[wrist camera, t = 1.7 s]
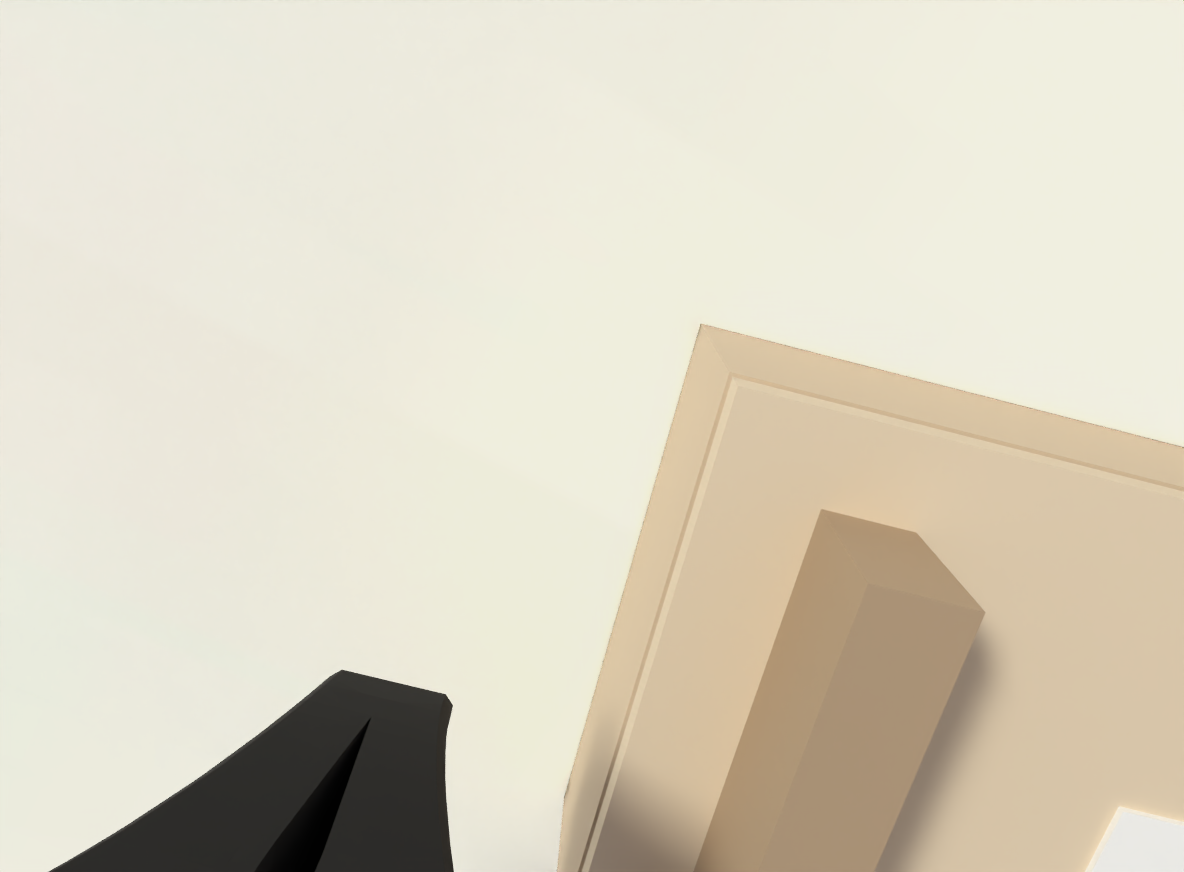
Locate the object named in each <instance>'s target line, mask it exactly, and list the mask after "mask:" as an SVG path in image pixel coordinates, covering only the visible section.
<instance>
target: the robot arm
mask: <svg viewBox="0 0 1184 872" xmlns="http://www.w3.org/2000/svg"><path fill="white" fill-rule="evenodd" d="M452 707H453V705H452V703H451V702H450V700H449V699H448V697H447V696H446V694H442V693H437V692H433V691H429V690H425V689H421V688H416V687H412V686H408V685H404V684H400V683H395V682H391V681H387V680H383V679H379V678H374V677H370V676H366V675H362V674H358V673H353V672H349V671H345V670H341V671H339V672H337V673H335V674H333V675H332V676H330V677H329V678H328V679H327V680H325V681H324V682H323V683H322V684H321V685H319V686H318V687H317V688H316V689H315V690H313V691H312V692H311V693H310V694H309V695H307V696H306V697H305V698H304V699H303V700H301V701H300V702H299V703H298V704H296V705H295V706H294V707H293V708H292V709H290V710H289V711H288V712H287V713H285V714H284V715H283V716H281V717H280V718H279V719H278V720H276V721H275V722H274V723H273V724H271V725H270V726H269V727H267V728H266V729H265V730H264V731H262V732H261V733H260V734H258V735H257V736H256V737H254V738H253V739H252V740H250V741H249V742H247V743H246V744H245V745H243V746H242V747H241V748H239V749H238V750H237V751H235V752H234V753H232V754H231V755H230V756H228V757H227V758H226V759H224V760H223V761H222V762H220V763H219V764H217V765H216V766H215V767H213V768H212V769H211V770H209V771H208V772H206V773H205V774H204V775H202V776H201V777H199V778H198V779H196V780H195V781H194V782H192V783H191V784H189V785H188V786H186V787H185V788H183V789H182V790H180V791H178V792H177V793H175V794H174V795H172V796H171V797H169V798H168V799H166V800H165V801H163V802H162V803H160V804H159V805H157V806H156V807H154V808H153V809H151V810H150V811H148V812H147V813H145V814H143V815H142V816H140V817H139V818H137V819H136V820H134V821H133V822H131V823H130V824H128V825H127V826H125V827H124V828H122V829H120V830H119V831H117V832H115V833H114V834H112V835H111V836H109V837H107V838H106V839H104V840H102V841H101V842H99V843H97V844H96V845H94V846H92V847H91V848H89V849H87V850H86V851H84V852H82V853H80V854H79V855H77V856H75V857H74V858H72V859H70V860H68V861H67V862H65V863H63V864H62V865H60V866H58V867H56V868H54V869H53V870H51V871H49V872H454V870H453V863H452V855H451V847H450V838H449V826H448V815H447V803H446V786H445V749H446V735H447V728H448V724H449V720H450V716H451V711H452Z"/></svg>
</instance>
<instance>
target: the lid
mask: <svg viewBox="0 0 1184 872" xmlns="http://www.w3.org/2000/svg"><path fill="white" fill-rule="evenodd" d="M582 872H1184V491H1180V490H1176V489H1172V488H1168V487H1164V486H1160V485H1156V484H1152V483H1148V482H1144V481H1140V480H1137V479H1133V478H1129V477H1125V476H1121V475H1117V474H1113V473H1109V472H1105V471H1101V470H1097V469H1093V468H1089V467H1085V466H1081V465H1078V464H1074V463H1070V462H1066V461H1062V460H1058V459H1054V458H1050V457H1046V456H1042V455H1038V454H1034V453H1030V452H1026V451H1022V450H1018V449H1015V448H1011V447H1007V446H1003V445H999V444H995V443H991V442H987V441H983V440H979V439H975V438H971V437H967V436H963V435H959V434H956V433H952V432H948V431H944V430H940V429H936V428H932V427H928V426H924V425H920V424H916V423H912V422H908V421H904V420H900V419H897V418H893V417H889V416H885V415H881V414H877V413H873V412H869V411H865V410H861V409H857V408H853V407H849V406H845V405H841V404H837V403H834V402H830V401H826V400H822V399H818V398H814V397H810V396H806V395H802V394H798V393H794V392H790V391H786V390H782V389H778V388H775V387H771V386H767V385H763V384H759V383H755V382H751V381H747V380H743V379H739V378H735V377H732V380H731V384H730V387H729V390H728V393H727V397H726V400H725V403H724V407H723V410H722V413H721V416H720V420H719V423H718V426H717V430H716V433H715V436H714V439H713V443H712V446H711V449H710V452H709V456H708V459H707V462H706V466H705V469H704V472H703V475H702V479H701V482H700V485H699V489H698V492H697V495H696V498H695V502H694V505H693V508H692V512H691V515H690V518H689V521H688V525H687V528H686V531H685V534H684V538H683V541H682V544H681V548H680V551H679V554H678V557H677V561H676V564H675V567H674V571H673V574H672V577H671V580H670V584H669V587H668V590H667V594H666V597H665V600H664V603H663V607H662V610H661V613H660V617H659V620H658V623H657V626H656V630H655V633H654V636H653V639H652V643H651V646H650V649H649V653H648V656H647V659H646V662H645V666H644V669H643V672H642V676H641V679H640V682H639V685H638V689H637V692H636V695H635V699H634V702H633V705H632V708H631V712H630V715H629V718H628V721H627V725H626V728H625V731H624V735H623V738H622V741H621V744H620V748H619V751H618V754H617V758H616V761H615V764H614V767H613V771H612V774H611V777H610V781H609V784H608V787H607V790H606V794H605V797H604V800H603V804H602V807H601V810H600V813H599V817H598V820H597V823H596V826H595V830H594V833H593V836H592V840H591V843H590V846H589V849H588V853H587V856H586V859H585V863H584V866H583V869H582Z"/></svg>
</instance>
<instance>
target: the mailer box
mask: <svg viewBox="0 0 1184 872" xmlns="http://www.w3.org/2000/svg"><path fill="white" fill-rule="evenodd" d="M732 377H735V378H739V379H743V380H747V381H751V382H755V383H759V384H763V385H767V386H771V387H775V388H778V389H782V390H786V391H790V392H794V393H798V394H802V395H806V396H810V397H814V398H818V399H822V400H826V401H830V402H834V403H837V404H841V405H845V406H849V407H853V408H857V409H861V410H865V411H869V412H873V413H877V414H881V415H885V416H889V417H893V418H897V419H900V420H904V421H908V422H912V423H916V424H920V425H924V426H928V427H932V428H936V429H940V430H944V431H948V432H952V433H956V434H959V435H963V436H967V437H971V438H975V439H979V440H983V441H987V442H991V443H995V444H999V445H1003V446H1007V447H1011V448H1015V449H1018V450H1022V451H1026V452H1030V453H1034V454H1038V455H1042V456H1046V457H1050V458H1054V459H1058V460H1062V461H1066V462H1070V463H1074V464H1078V465H1081V466H1085V467H1089V468H1093V469H1097V470H1101V471H1105V472H1109V473H1113V474H1117V475H1121V476H1125V477H1129V478H1133V479H1137V480H1140V481H1144V482H1148V483H1152V484H1156V485H1160V486H1164V487H1168V488H1172V489H1176V490H1180V491H1184V447H1180V446H1176V445H1172V444H1168V443H1164V442H1161V441H1157V440H1153V439H1149V438H1145V437H1141V436H1137V435H1133V434H1129V433H1125V432H1121V431H1118V430H1114V429H1110V428H1106V427H1102V426H1098V425H1094V424H1090V423H1086V422H1082V421H1079V420H1075V419H1071V418H1067V417H1063V416H1059V415H1055V414H1051V413H1047V412H1043V411H1039V410H1036V409H1032V408H1028V407H1024V406H1020V405H1016V404H1012V403H1008V402H1004V401H1000V400H997V399H993V398H989V397H985V396H981V395H977V394H973V393H969V392H965V391H961V390H957V389H954V388H950V387H946V386H942V385H938V384H934V383H930V382H926V381H922V380H918V379H915V378H911V377H907V376H903V375H899V374H895V373H891V372H887V371H883V370H879V369H875V368H872V367H868V366H864V365H860V364H856V363H852V362H848V361H844V360H840V359H836V358H833V357H829V356H825V355H821V354H817V353H813V352H809V351H805V350H801V349H797V348H793V347H790V346H786V345H782V344H778V343H774V342H770V341H766V340H762V339H758V338H754V337H751V336H747V335H743V334H739V333H735V332H731V331H727V330H723V329H719V328H715V327H711V326H708V325H704V324H701V325H700V328H699V332H698V335H697V339H696V342H695V345H694V349H693V352H692V356H691V359H690V363H689V366H688V370H687V373H686V377H685V380H684V384H683V387H682V391H681V394H680V398H679V401H678V404H677V408H676V411H675V415H674V418H673V422H672V425H671V429H670V432H669V436H668V439H667V443H666V446H665V450H664V453H663V456H662V460H661V463H660V467H659V470H658V474H657V477H656V481H655V484H654V488H653V491H652V495H651V498H650V502H649V505H648V509H647V512H646V515H645V519H644V522H643V526H642V529H641V533H640V536H639V540H638V543H637V547H636V550H635V554H634V557H633V561H632V564H631V567H630V571H629V574H628V578H627V581H626V585H625V588H624V592H623V595H622V599H621V602H620V606H619V609H618V613H617V616H616V620H615V623H614V626H613V630H612V633H611V637H610V640H609V644H608V647H607V651H606V654H605V658H604V661H603V665H602V668H601V672H600V675H599V679H598V682H597V685H596V689H595V692H594V696H593V699H592V703H591V706H590V710H589V713H588V717H587V720H586V724H585V727H584V731H583V734H582V737H581V741H580V744H579V748H578V751H577V755H576V758H575V762H574V765H573V769H572V772H571V776H570V779H569V783H568V786H567V790H566V793H565V796H564V805H563V815H562V825H561V836H560V846H559V857H558V867H557V872H582V869H583V866H584V863H585V859H586V856H587V853H588V849H589V846H590V843H591V840H592V836H593V833H594V830H595V826H596V823H597V820H598V817H599V813H600V810H601V807H602V804H603V800H604V797H605V794H606V790H607V787H608V784H609V781H610V777H611V774H612V771H613V767H614V764H615V761H616V758H617V754H618V751H619V748H620V744H621V741H622V738H623V735H624V731H625V728H626V725H627V721H628V718H629V715H630V712H631V708H632V705H633V702H634V699H635V695H636V692H637V689H638V685H639V682H640V679H641V676H642V672H643V669H644V666H645V662H646V659H647V656H648V653H649V649H650V646H651V643H652V639H653V636H654V633H655V630H656V626H657V623H658V620H659V617H660V613H661V610H662V607H663V603H664V600H665V597H666V594H667V590H668V587H669V584H670V580H671V577H672V574H673V571H674V567H675V564H676V561H677V557H678V554H679V551H680V548H681V544H682V541H683V538H684V534H685V531H686V528H687V525H688V521H689V518H690V515H691V512H692V508H693V505H694V502H695V498H696V495H697V492H698V489H699V485H700V482H701V479H702V475H703V472H704V469H705V466H706V462H707V459H708V456H709V452H710V449H711V446H712V443H713V439H714V436H715V433H716V430H717V426H718V423H719V420H720V416H721V413H722V410H723V407H724V403H725V400H726V397H727V393H728V390H729V387H730V384H731V380H732Z"/></svg>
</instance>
